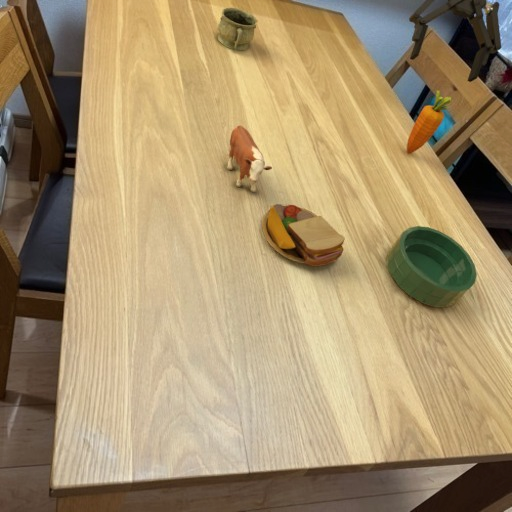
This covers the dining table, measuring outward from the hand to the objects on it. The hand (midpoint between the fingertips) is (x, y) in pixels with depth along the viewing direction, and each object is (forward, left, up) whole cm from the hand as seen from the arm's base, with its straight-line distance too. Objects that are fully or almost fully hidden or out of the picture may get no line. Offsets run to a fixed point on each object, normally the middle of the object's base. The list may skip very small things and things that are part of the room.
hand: (443, 68), depth 104 cm
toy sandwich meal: (+22, +47, -16) cm, 55 cm away
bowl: (0, +46, -16) cm, 49 cm away
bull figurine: (+34, +37, -16) cm, 53 cm away
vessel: (+45, -13, -16) cm, 49 cm away
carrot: (0, +9, -16) cm, 19 cm away
